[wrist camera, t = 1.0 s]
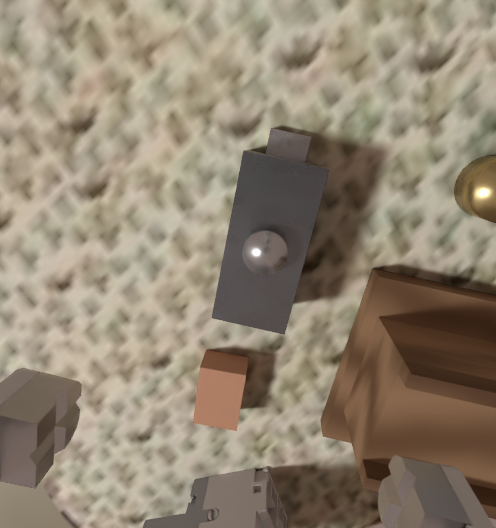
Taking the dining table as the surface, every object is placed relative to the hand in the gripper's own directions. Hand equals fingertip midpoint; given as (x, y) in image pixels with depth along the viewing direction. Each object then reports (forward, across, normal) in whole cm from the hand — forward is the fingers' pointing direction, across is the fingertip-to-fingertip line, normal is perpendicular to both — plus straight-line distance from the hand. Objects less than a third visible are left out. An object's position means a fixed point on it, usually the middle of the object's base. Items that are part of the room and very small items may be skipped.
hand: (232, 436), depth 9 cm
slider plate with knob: (+21, 0, -1) cm, 21 cm away
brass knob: (+21, -15, -8) cm, 27 cm away
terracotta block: (+22, +1, +14) cm, 26 cm away
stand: (+21, -19, +8) cm, 30 cm away
